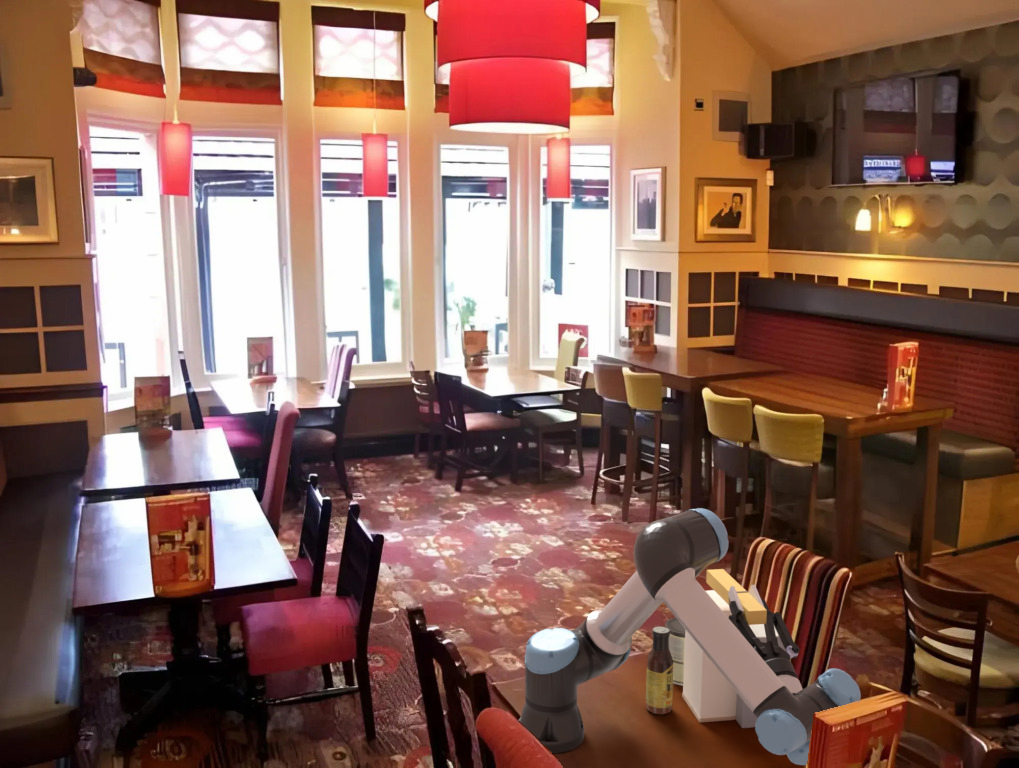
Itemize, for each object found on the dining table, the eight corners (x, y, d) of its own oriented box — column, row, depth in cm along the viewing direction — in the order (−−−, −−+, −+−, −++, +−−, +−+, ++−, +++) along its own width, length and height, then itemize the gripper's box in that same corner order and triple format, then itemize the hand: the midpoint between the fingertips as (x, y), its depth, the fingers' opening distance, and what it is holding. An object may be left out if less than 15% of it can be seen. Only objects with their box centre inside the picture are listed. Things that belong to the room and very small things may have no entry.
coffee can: (675, 663, 243) (677, 613, 240) (711, 675, 236) (713, 623, 234) (656, 678, 235) (657, 626, 232) (692, 690, 228) (695, 637, 226)
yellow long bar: (766, 623, 192) (767, 609, 192) (747, 625, 192) (748, 610, 191) (722, 581, 216) (723, 568, 215) (706, 582, 215) (706, 569, 214)
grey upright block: (783, 724, 213) (788, 635, 209) (742, 728, 211) (746, 637, 208) (762, 699, 224) (766, 613, 221) (722, 701, 223) (726, 616, 219)
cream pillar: (738, 719, 215) (743, 610, 211) (699, 722, 214) (703, 612, 209) (718, 693, 227) (723, 589, 223) (681, 696, 226) (685, 591, 221)
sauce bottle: (671, 717, 216) (674, 637, 213) (644, 714, 217) (647, 635, 214) (672, 703, 222) (675, 625, 219) (646, 700, 224) (648, 623, 220)
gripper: (734, 698, 183) (700, 602, 201) (814, 692, 185) (774, 598, 203) (743, 676, 178) (707, 580, 196) (825, 670, 181) (783, 576, 199)
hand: (741, 589), depth 200 cm, fingers closed on yellow long bar, 4 cm apart
